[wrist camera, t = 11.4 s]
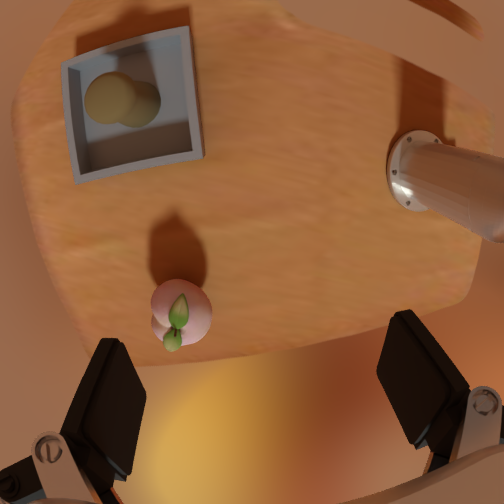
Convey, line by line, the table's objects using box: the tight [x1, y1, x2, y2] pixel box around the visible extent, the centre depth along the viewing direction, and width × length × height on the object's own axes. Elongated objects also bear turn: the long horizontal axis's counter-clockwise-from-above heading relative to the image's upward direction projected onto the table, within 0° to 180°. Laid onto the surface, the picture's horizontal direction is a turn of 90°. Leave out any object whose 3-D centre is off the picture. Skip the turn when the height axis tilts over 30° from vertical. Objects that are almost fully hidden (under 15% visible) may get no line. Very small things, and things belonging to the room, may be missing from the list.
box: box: [61, 26, 205, 185], centre depth 29 cm, size 16×16×4 cm
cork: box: [84, 71, 161, 128], centre depth 25 cm, size 6×6×11 cm
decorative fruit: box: [151, 279, 212, 351], centre depth 37 cm, size 9×8×10 cm
